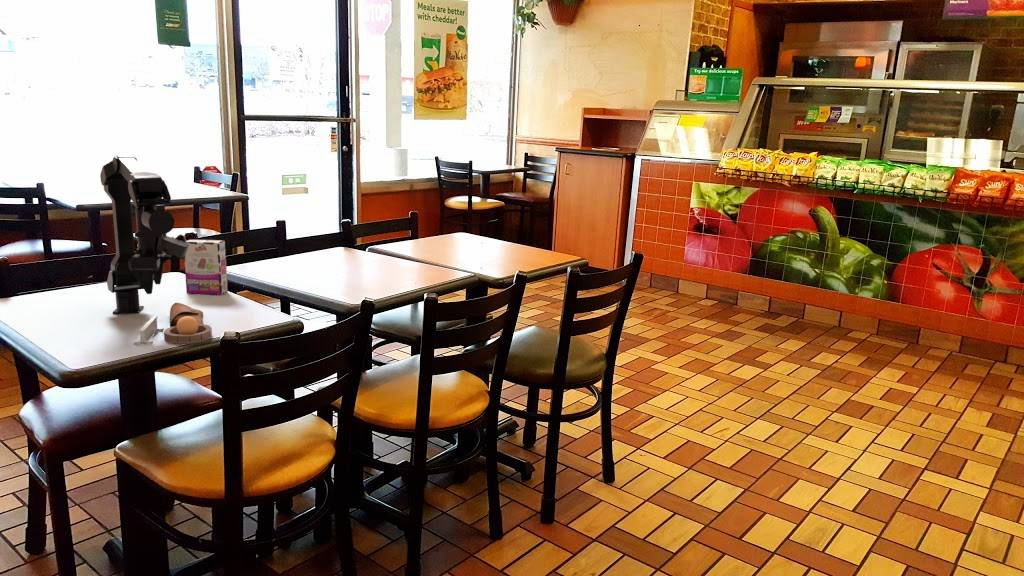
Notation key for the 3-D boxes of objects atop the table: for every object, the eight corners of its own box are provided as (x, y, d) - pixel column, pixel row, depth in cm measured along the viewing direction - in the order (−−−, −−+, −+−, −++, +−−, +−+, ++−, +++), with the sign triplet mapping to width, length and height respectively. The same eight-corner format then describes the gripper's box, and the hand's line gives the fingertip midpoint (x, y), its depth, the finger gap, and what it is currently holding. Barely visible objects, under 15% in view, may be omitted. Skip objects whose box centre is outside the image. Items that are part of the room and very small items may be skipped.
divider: (147, 330, 194) (146, 316, 194) (163, 329, 195) (162, 316, 194) (133, 344, 183) (132, 330, 182) (151, 344, 184) (150, 330, 183)
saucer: (170, 331, 194) (169, 324, 193) (215, 331, 196) (215, 323, 195) (159, 345, 183) (158, 336, 183) (207, 344, 185) (207, 335, 185)
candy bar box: (228, 292, 235) (225, 240, 232) (222, 296, 231) (219, 242, 227) (193, 290, 236) (189, 238, 232) (185, 294, 231) (182, 241, 227)
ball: (179, 332, 191) (178, 313, 190) (200, 332, 192) (199, 313, 191) (175, 338, 187) (173, 319, 185) (196, 338, 188) (195, 319, 186)
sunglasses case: (206, 328, 196) (190, 307, 193) (181, 343, 194) (165, 322, 191) (203, 311, 212) (188, 292, 209) (180, 326, 210) (165, 306, 207)
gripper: (177, 234, 178) (180, 299, 181) (192, 221, 195) (195, 279, 199) (125, 234, 175) (130, 299, 179) (145, 220, 193) (149, 279, 197)
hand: (153, 288), depth 189 cm, fingers open, 9 cm apart
